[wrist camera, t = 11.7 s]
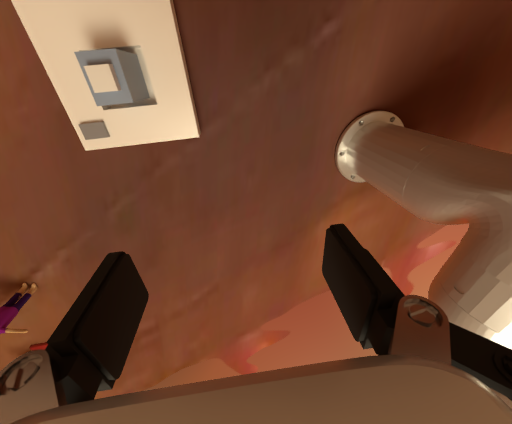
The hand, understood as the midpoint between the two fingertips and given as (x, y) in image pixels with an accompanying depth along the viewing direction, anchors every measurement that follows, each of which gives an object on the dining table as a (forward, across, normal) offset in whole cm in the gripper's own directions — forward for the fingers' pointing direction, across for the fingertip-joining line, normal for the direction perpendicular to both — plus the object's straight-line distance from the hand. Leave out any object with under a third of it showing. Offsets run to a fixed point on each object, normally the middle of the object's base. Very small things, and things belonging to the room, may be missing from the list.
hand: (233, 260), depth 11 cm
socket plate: (+29, +13, -8) cm, 33 cm away
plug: (+28, +12, -9) cm, 32 cm away
